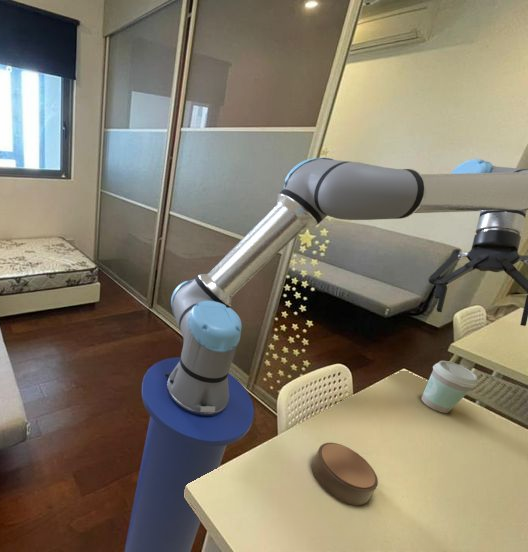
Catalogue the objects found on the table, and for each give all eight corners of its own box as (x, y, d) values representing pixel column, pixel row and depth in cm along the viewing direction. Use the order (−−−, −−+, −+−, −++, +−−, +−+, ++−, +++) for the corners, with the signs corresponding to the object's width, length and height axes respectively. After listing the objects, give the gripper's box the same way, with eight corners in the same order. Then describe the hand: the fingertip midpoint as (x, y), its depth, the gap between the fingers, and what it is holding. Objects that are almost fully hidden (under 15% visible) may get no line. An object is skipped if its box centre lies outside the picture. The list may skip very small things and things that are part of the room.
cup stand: (304, 474, 63) (311, 459, 62) (321, 447, 70) (328, 433, 68) (361, 517, 57) (371, 502, 55) (374, 482, 64) (383, 468, 62)
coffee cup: (421, 389, 92) (442, 356, 88) (460, 410, 86) (485, 375, 81) (409, 398, 88) (431, 364, 83) (449, 421, 82) (475, 385, 77)
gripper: (582, 243, 71) (563, 334, 69) (430, 238, 90) (412, 309, 88) (588, 229, 66) (569, 327, 64) (427, 227, 85) (407, 302, 83)
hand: (478, 317), depth 76 cm, fingers open, 13 cm apart
